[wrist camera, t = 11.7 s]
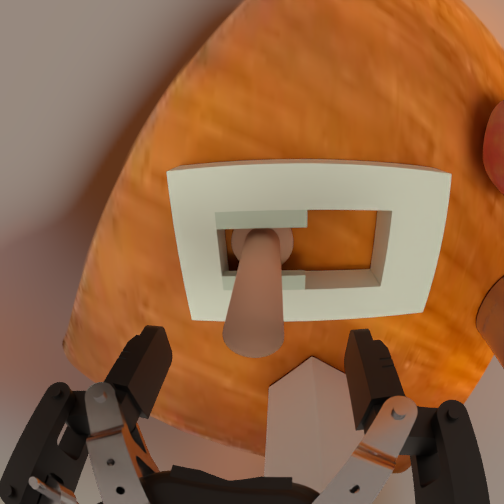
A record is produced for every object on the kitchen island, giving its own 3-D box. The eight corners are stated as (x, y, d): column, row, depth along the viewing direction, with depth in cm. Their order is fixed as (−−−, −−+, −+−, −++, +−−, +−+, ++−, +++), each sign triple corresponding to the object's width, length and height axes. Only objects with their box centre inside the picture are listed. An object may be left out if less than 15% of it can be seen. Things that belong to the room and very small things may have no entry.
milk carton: (311, 354, 26) (324, 536, 9) (353, 376, 28) (378, 527, 10) (268, 385, 29) (258, 540, 12) (311, 404, 30) (316, 539, 13)
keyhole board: (432, 167, 17) (451, 173, 15) (411, 294, 22) (422, 312, 20) (180, 165, 19) (166, 171, 17) (199, 300, 24) (192, 320, 22)
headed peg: (292, 208, 20) (311, 291, 10) (292, 263, 22) (303, 370, 12) (230, 209, 20) (190, 291, 10) (235, 264, 22) (208, 369, 12)
